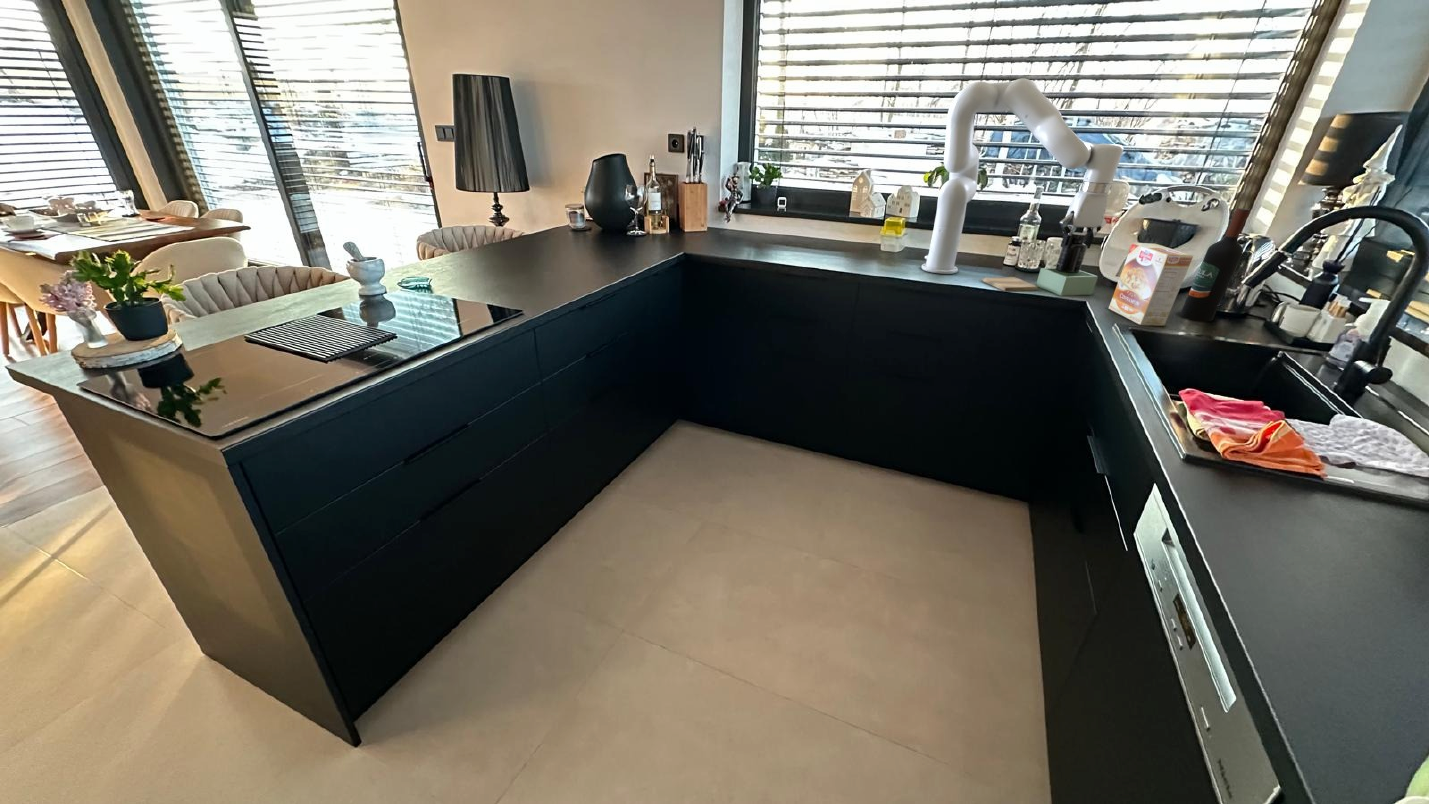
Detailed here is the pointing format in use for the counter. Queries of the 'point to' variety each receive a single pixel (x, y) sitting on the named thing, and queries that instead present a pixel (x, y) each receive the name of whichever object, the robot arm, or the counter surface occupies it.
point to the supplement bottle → (1073, 254)
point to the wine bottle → (1215, 272)
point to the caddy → (1066, 282)
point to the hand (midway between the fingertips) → (1074, 247)
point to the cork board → (1010, 284)
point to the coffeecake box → (1149, 283)
